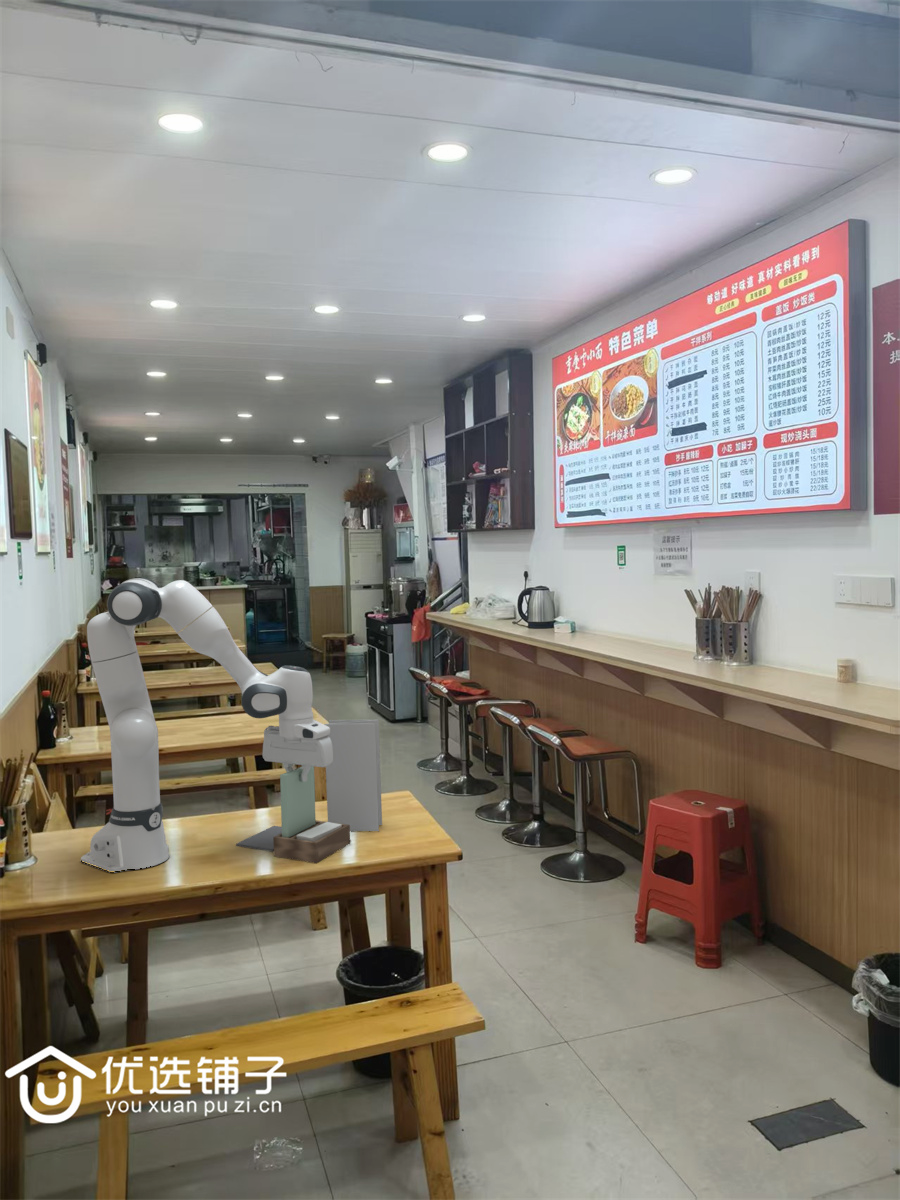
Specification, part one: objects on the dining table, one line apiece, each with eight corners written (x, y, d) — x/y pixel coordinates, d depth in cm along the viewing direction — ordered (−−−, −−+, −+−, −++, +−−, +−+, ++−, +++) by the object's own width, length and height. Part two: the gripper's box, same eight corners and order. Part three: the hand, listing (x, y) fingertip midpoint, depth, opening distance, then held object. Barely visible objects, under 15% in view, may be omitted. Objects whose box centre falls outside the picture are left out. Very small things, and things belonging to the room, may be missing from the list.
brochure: (382, 825, 240) (378, 719, 239) (378, 831, 235) (375, 723, 233) (332, 825, 242) (329, 720, 240) (328, 831, 236) (324, 724, 234)
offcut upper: (296, 846, 217) (296, 835, 217) (327, 832, 227) (327, 821, 227) (311, 849, 214) (311, 838, 214) (342, 835, 224) (341, 824, 224)
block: (281, 836, 218) (280, 774, 217) (309, 823, 229) (307, 764, 228) (288, 837, 217) (286, 775, 216) (315, 824, 228) (314, 764, 227)
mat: (236, 845, 226) (236, 843, 226) (273, 827, 241) (273, 825, 241) (272, 851, 221) (272, 849, 221) (309, 832, 235) (309, 830, 235)
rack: (274, 856, 217) (273, 837, 217) (309, 837, 231) (309, 819, 231) (316, 863, 212) (315, 843, 211) (350, 843, 226) (349, 824, 225)
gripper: (256, 727, 223) (258, 779, 224) (321, 733, 214) (323, 787, 215) (271, 722, 229) (273, 773, 230) (335, 728, 220) (337, 781, 221)
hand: (297, 780), depth 222 cm, fingers closed on block, 2 cm apart
